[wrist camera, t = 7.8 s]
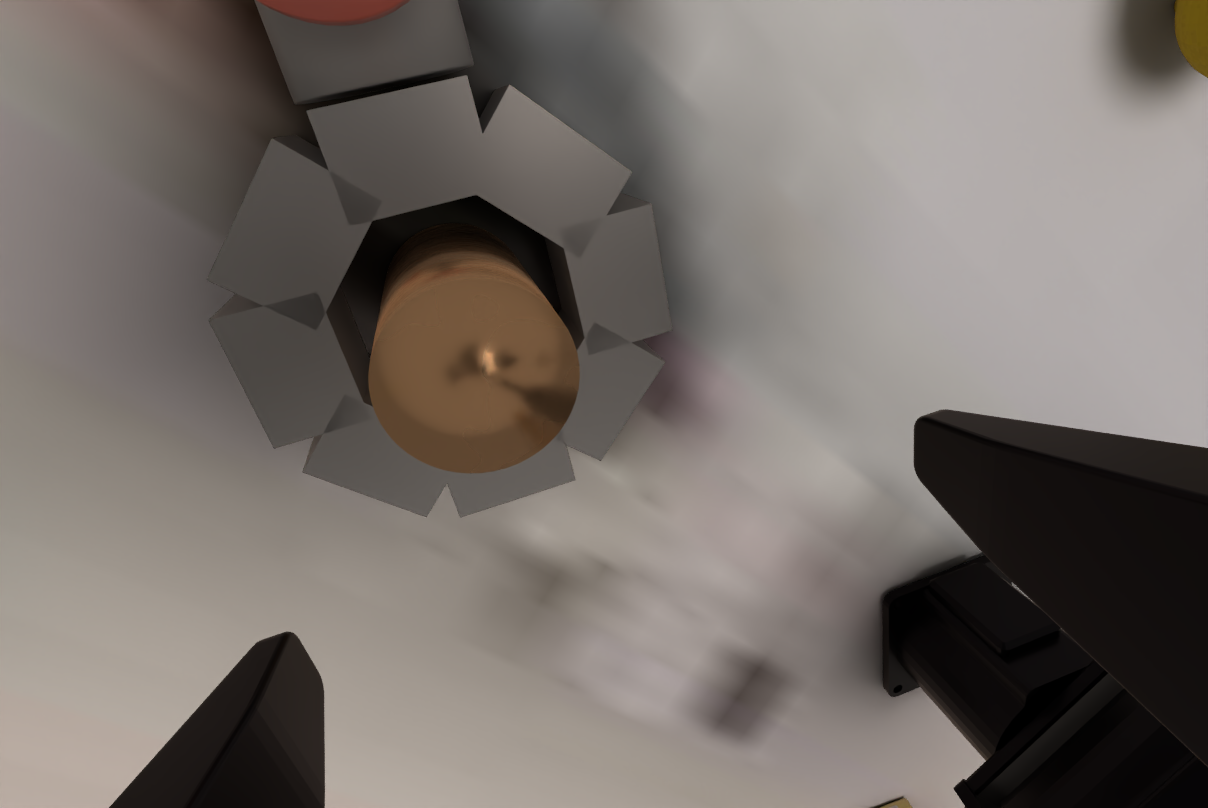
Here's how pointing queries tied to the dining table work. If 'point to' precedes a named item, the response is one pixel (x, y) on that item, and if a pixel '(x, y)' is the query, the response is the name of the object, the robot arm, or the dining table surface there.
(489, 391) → the pipe stub
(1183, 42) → the lemon
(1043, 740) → the robot arm
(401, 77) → the valve fitting
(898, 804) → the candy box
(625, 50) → the dining table surface
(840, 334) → the dining table surface
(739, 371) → the dining table surface
